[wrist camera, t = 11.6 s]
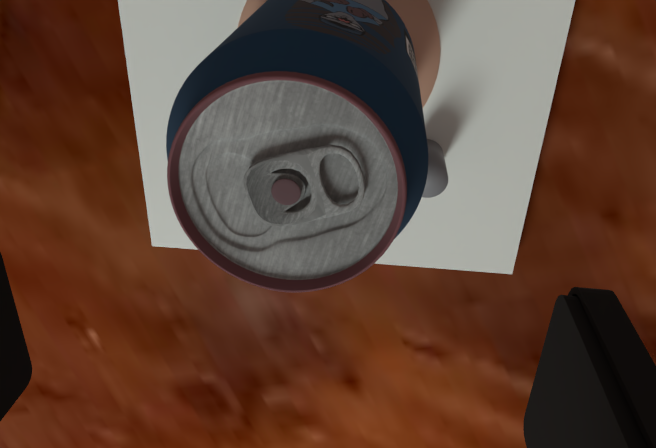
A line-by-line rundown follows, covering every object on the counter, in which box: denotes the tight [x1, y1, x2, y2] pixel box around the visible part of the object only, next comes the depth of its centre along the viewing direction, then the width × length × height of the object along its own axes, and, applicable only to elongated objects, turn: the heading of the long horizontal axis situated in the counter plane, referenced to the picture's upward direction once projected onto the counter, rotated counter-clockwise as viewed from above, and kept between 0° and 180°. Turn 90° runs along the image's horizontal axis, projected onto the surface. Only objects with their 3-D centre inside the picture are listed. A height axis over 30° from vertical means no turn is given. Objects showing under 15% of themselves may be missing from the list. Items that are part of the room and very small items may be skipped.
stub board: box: [118, 0, 575, 274], centre depth 24 cm, size 18×20×4 cm
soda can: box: [166, 0, 428, 292], centre depth 19 cm, size 7×7×12 cm
